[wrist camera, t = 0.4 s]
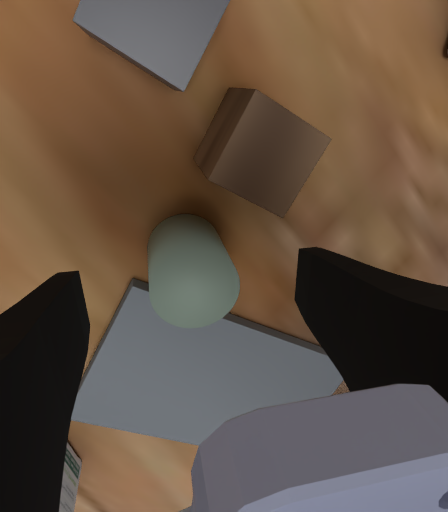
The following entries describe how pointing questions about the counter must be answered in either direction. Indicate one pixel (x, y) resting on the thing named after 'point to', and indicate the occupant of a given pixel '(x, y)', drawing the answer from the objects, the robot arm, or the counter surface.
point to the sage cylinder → (190, 272)
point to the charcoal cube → (154, 33)
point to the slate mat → (193, 372)
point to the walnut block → (259, 150)
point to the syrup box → (70, 480)
